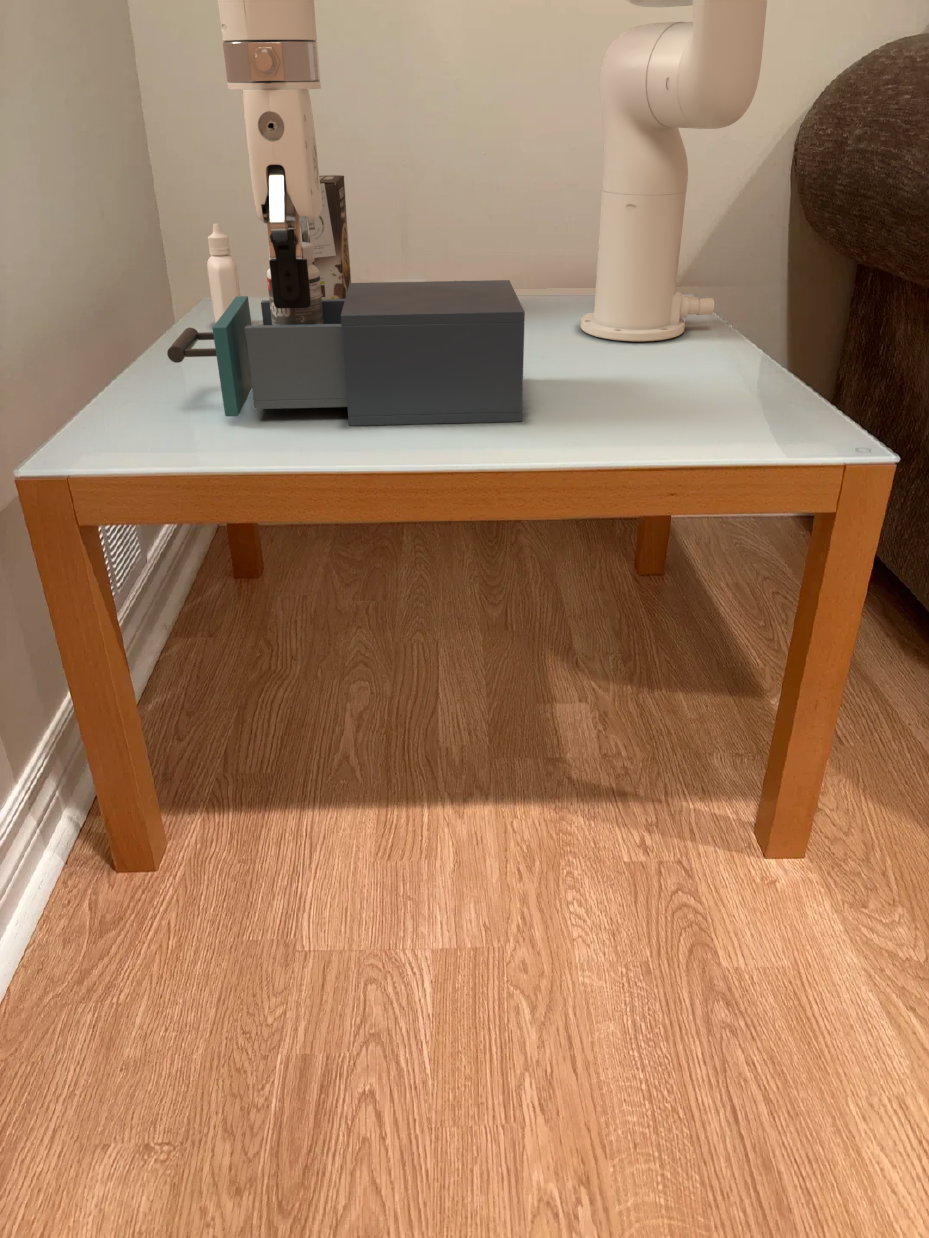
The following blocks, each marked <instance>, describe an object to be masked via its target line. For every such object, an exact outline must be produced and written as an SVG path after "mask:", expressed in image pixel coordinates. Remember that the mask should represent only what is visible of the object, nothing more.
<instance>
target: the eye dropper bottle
mask: <svg viewBox="0 0 929 1238" xmlns="http://www.w3.org/2000/svg"><path fill="white" fill-rule="evenodd" d="M207 243H208V251H209V255H210V256H209V258H208V259H207V263H206V268H207V276H208V282H209V288H210V296H211V297H210V298H211V305H212V311H213V318H214V325H215V324H216V322H217V321H218V320H219V318H220V317H221V316H222V314H223V313H224V312H225V310H226V309H227V308H228V306H229V305H230V304H231V302H232V301H233V300H234V298H235V297H236V296H242V295H241V289H240V279H239V272H238V266H237V263H236V260H235V259H234V257H233V256H232V255H231V247H230V239H229V236H228V235H227V234H225V233H223V231H222V228H221V225H220V223H213V225H212V233H211V234H210V235H208V236H207Z"/></svg>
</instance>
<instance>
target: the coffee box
mask: <svg viewBox="0 0 929 1238" xmlns="http://www.w3.org/2000/svg"><path fill="white" fill-rule="evenodd" d="M319 178H320V187H321V195H322V210H321V212H320V214H319V215H318V217H317V218H316V219H315V220H314V221H313V222H312V223H308V225H309V233H310V243H312V244H313V245H314V253H315V258H314V259H315V260H314V265H315V266H316V267H317V268H318V270H319V273H320V285H321V297H322V299H345V298H346V294H347V291H348V287H349V283H352V275H351V260H350V248H349V231H348V219H347V204H346V202H347V201H346V188H345V176H344V175H338V174H337V175H335V174H334V175H333V174H331V175H330V174H329V175H319Z"/></svg>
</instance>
